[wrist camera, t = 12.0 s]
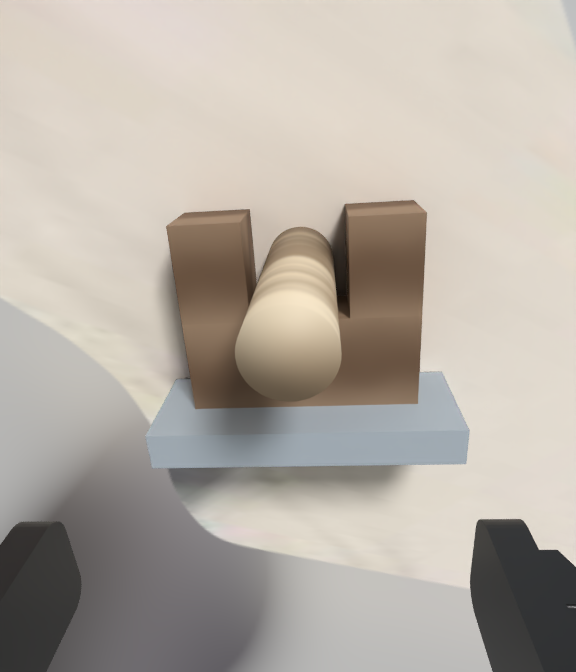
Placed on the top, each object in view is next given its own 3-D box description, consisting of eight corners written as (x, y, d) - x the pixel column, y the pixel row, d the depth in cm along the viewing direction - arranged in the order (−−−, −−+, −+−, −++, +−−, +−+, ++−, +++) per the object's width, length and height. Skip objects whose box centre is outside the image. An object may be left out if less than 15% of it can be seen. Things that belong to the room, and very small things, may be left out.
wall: (176, 379, 31) (145, 436, 25) (442, 371, 30) (469, 430, 24) (181, 407, 32) (152, 468, 26) (439, 400, 30) (466, 464, 25)
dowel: (266, 228, 27) (228, 307, 16) (331, 225, 27) (340, 302, 16) (271, 291, 28) (240, 403, 17) (334, 287, 28) (343, 400, 17)
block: (184, 212, 27) (166, 226, 24) (413, 200, 26) (426, 212, 23) (208, 378, 31) (195, 408, 28) (407, 372, 30) (418, 403, 27)
